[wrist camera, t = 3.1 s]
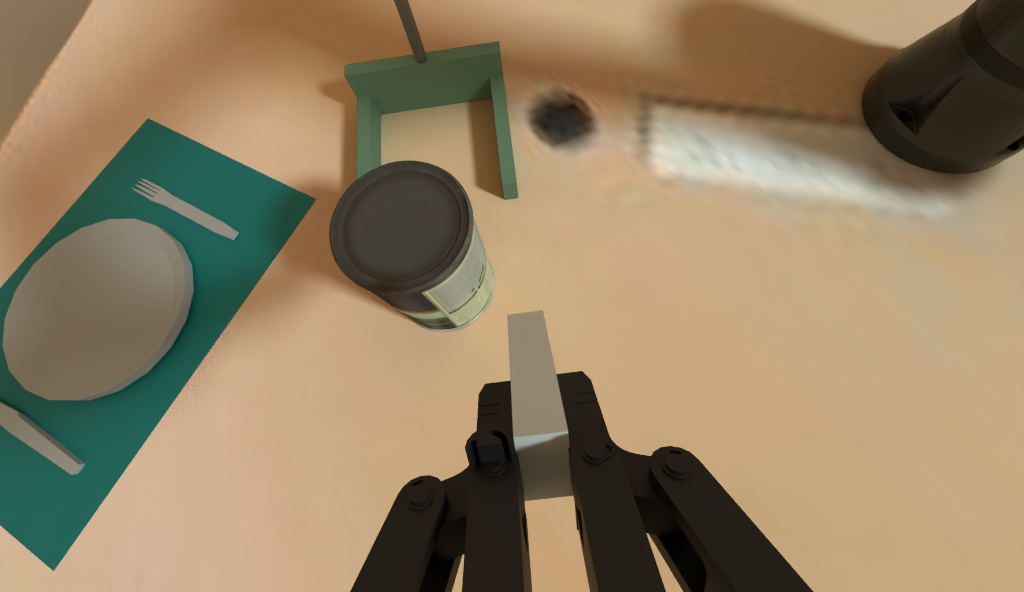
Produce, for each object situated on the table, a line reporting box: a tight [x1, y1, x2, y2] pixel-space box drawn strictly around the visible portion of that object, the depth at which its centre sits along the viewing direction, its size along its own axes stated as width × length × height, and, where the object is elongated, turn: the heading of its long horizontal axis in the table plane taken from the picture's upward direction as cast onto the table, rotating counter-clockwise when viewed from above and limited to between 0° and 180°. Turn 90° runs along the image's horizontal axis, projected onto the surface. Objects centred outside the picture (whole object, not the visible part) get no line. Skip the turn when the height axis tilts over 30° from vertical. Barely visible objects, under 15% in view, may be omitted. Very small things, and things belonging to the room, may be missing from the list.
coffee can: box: [329, 161, 495, 332], centre depth 34 cm, size 10×10×14 cm
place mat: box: [0, 119, 316, 571], centre depth 43 cm, size 45×30×2 cm
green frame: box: [344, 0, 518, 200], centre depth 34 cm, size 16×17×24 cm
